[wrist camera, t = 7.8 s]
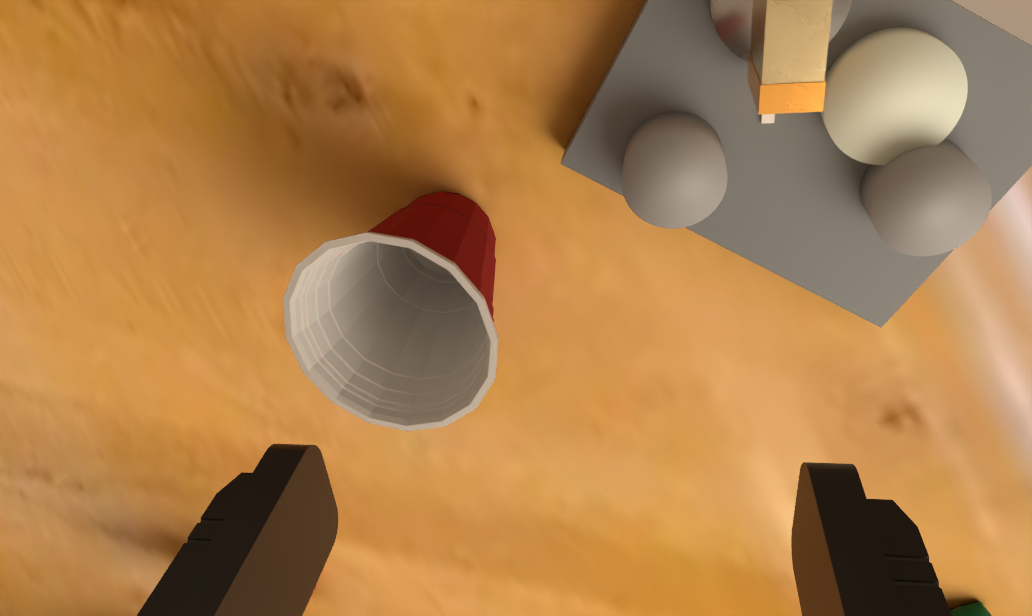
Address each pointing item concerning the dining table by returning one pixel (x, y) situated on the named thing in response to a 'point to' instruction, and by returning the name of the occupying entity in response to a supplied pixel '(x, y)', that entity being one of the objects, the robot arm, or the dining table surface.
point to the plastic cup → (400, 315)
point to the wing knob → (781, 48)
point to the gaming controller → (970, 610)
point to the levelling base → (819, 144)
